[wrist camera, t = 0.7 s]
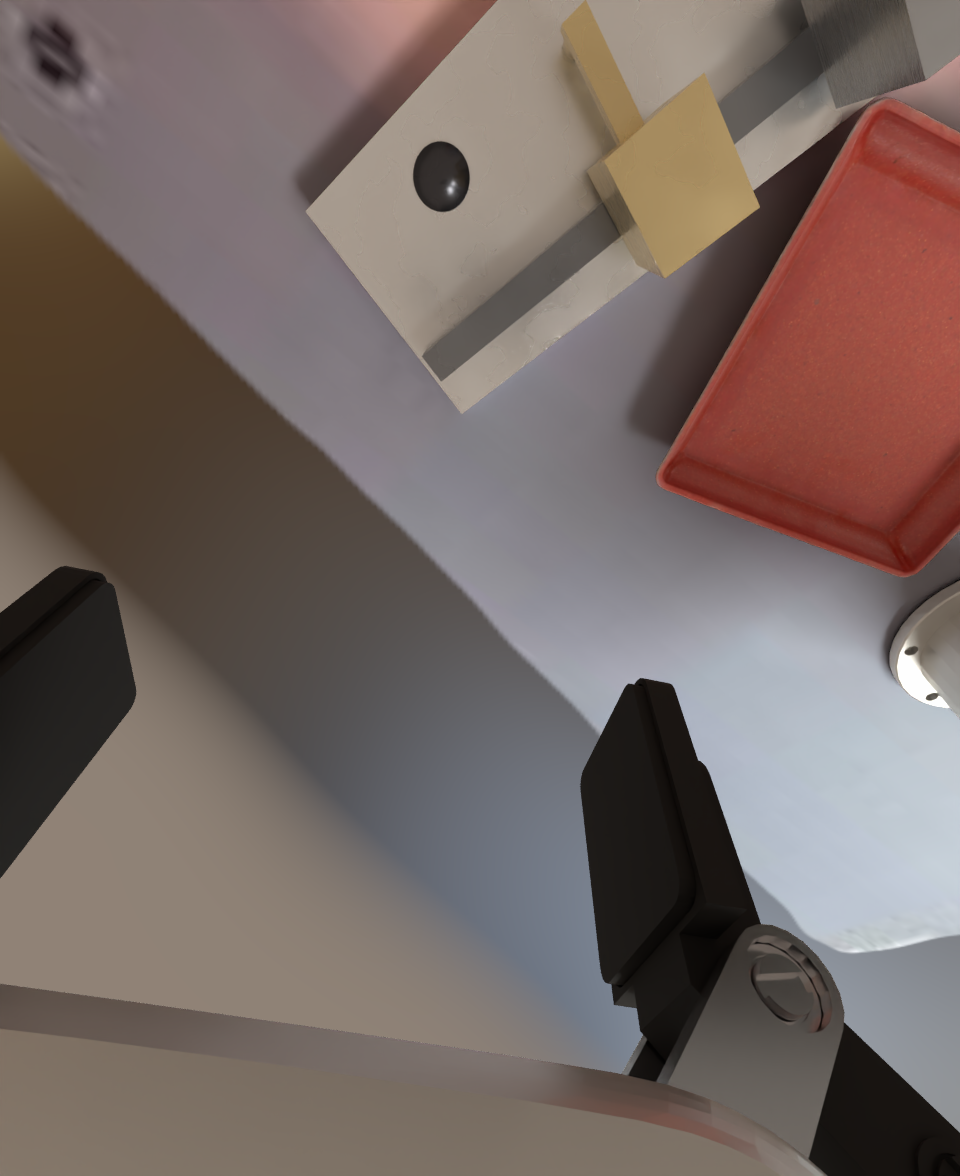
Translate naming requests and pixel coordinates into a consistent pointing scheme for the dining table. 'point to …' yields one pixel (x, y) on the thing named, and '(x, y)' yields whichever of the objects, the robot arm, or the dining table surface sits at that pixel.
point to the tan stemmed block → (660, 160)
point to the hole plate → (583, 156)
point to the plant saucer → (848, 362)
